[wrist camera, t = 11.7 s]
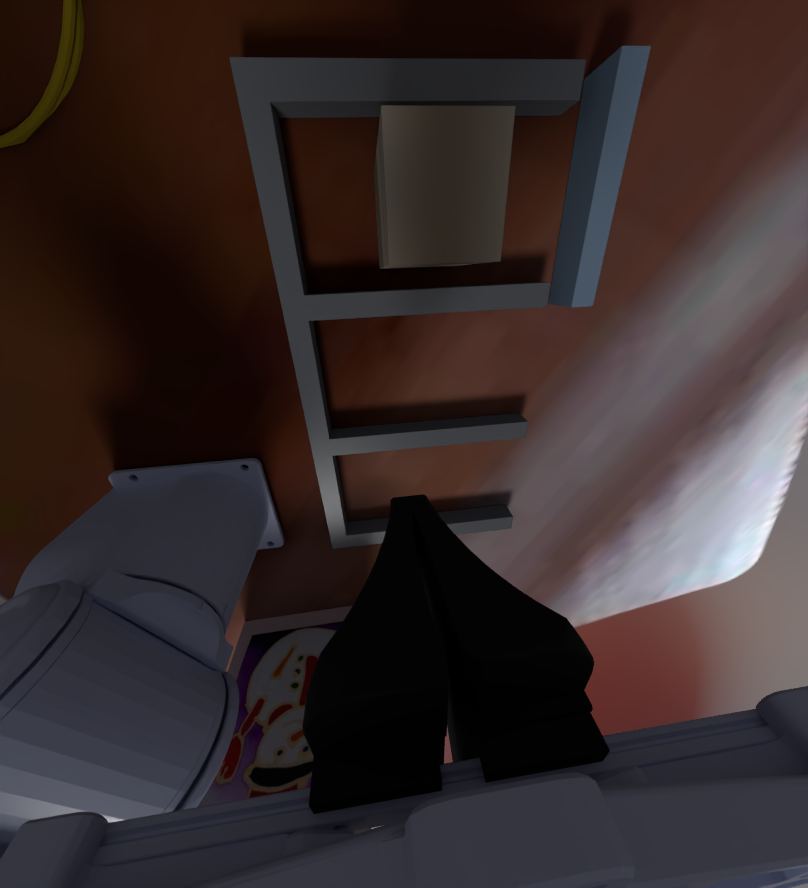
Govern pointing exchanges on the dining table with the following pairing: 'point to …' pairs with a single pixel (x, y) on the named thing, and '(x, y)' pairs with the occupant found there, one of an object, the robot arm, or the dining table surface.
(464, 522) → the divided bay frame
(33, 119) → the olive curved band
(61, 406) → the dining table surface
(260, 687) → the greeting card
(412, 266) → the plug block
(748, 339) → the dining table surface
